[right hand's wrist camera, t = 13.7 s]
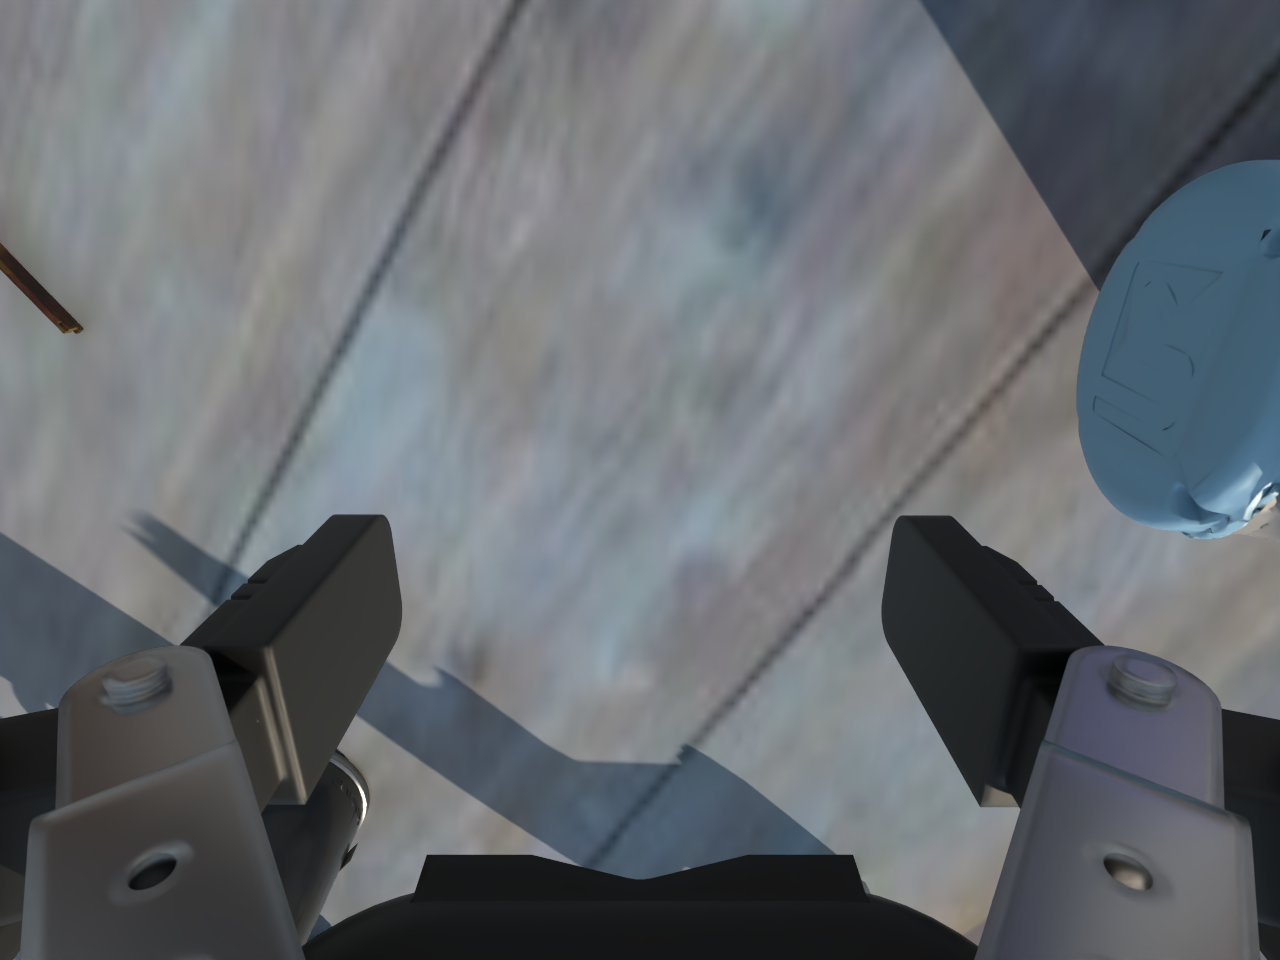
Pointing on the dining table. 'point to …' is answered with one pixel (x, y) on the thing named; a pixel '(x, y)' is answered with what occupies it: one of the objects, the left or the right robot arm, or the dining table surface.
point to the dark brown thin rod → (37, 293)
